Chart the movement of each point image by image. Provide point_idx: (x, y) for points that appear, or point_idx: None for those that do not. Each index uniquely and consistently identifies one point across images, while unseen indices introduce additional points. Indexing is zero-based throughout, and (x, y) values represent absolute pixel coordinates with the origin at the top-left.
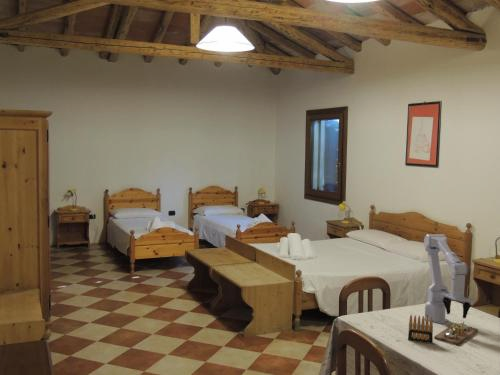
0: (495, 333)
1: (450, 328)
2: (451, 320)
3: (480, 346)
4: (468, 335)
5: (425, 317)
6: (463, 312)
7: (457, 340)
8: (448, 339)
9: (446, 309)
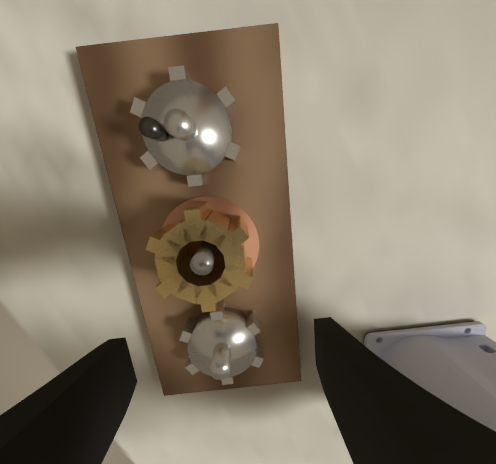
0: None
1: (240, 222)
2: None
3: (5, 181)
4: (132, 261)
5: (484, 337)
6: (46, 402)
7: (113, 100)
8: (167, 57)
9: (368, 354)
